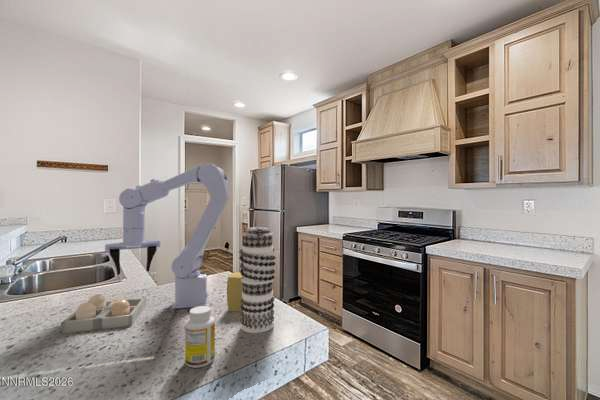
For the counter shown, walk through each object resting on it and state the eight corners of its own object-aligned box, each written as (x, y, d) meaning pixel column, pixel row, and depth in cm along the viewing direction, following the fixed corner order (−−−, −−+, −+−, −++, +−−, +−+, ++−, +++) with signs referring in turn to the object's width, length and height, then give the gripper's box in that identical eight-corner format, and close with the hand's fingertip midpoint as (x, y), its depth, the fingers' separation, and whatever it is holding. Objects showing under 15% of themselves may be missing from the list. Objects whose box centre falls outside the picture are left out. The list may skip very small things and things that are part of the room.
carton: (145, 307, 83) (145, 297, 83) (131, 327, 69) (131, 315, 70) (87, 313, 78) (87, 302, 78) (61, 335, 65) (61, 322, 65)
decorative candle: (238, 319, 74) (238, 226, 74) (272, 316, 77) (272, 226, 77) (239, 335, 65) (240, 229, 66) (278, 331, 68) (278, 229, 68)
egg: (120, 317, 74) (120, 296, 74) (133, 318, 74) (133, 297, 74) (107, 324, 70) (107, 301, 70) (120, 325, 70) (120, 303, 70)
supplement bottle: (205, 350, 59) (205, 302, 59) (220, 360, 55) (220, 308, 55) (179, 362, 55) (179, 310, 55) (194, 373, 51) (194, 317, 51)
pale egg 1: (98, 320, 72) (98, 299, 72) (91, 327, 68) (91, 304, 69) (80, 322, 71) (80, 300, 71) (72, 329, 67) (72, 306, 67)
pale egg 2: (108, 311, 78) (108, 291, 79) (102, 317, 75) (102, 296, 75) (91, 313, 77) (91, 292, 77) (84, 318, 74) (85, 297, 74)
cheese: (234, 299, 90) (235, 268, 90) (267, 299, 90) (268, 268, 90) (226, 312, 80) (226, 277, 80) (263, 312, 80) (263, 277, 80)
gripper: (104, 230, 78) (104, 278, 78) (161, 228, 86) (161, 271, 86) (106, 228, 84) (105, 273, 84) (159, 226, 92) (158, 267, 92)
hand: (133, 272), depth 85 cm, fingers open, 7 cm apart
